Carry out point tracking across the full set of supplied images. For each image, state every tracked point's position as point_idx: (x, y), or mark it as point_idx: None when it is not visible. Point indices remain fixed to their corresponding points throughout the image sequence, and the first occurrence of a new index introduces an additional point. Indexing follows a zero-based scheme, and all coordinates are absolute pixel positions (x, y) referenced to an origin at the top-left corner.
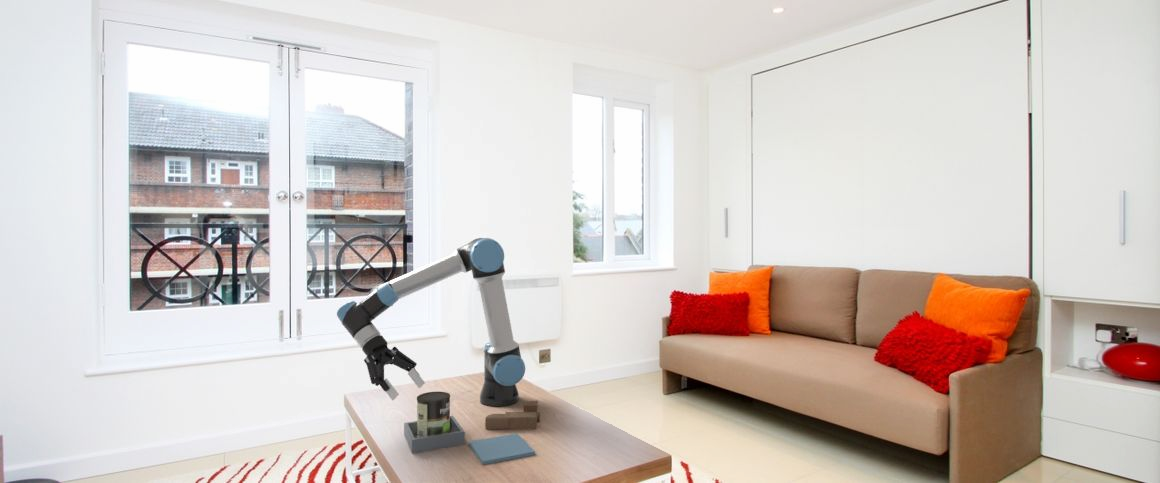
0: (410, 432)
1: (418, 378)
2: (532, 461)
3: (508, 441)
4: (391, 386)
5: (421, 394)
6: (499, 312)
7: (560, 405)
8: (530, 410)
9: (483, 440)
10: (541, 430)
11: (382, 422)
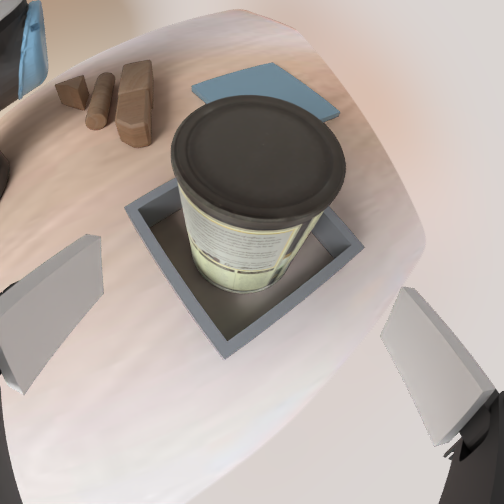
0: (313, 282)
1: (69, 272)
2: (296, 69)
3: (238, 89)
4: (449, 330)
5: (242, 214)
6: None
7: (40, 91)
8: (83, 90)
9: None
10: (159, 72)
11: (129, 481)
